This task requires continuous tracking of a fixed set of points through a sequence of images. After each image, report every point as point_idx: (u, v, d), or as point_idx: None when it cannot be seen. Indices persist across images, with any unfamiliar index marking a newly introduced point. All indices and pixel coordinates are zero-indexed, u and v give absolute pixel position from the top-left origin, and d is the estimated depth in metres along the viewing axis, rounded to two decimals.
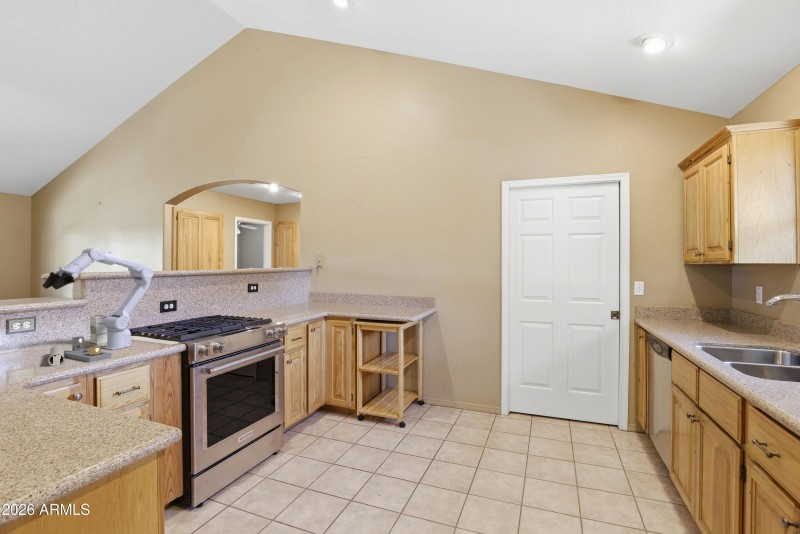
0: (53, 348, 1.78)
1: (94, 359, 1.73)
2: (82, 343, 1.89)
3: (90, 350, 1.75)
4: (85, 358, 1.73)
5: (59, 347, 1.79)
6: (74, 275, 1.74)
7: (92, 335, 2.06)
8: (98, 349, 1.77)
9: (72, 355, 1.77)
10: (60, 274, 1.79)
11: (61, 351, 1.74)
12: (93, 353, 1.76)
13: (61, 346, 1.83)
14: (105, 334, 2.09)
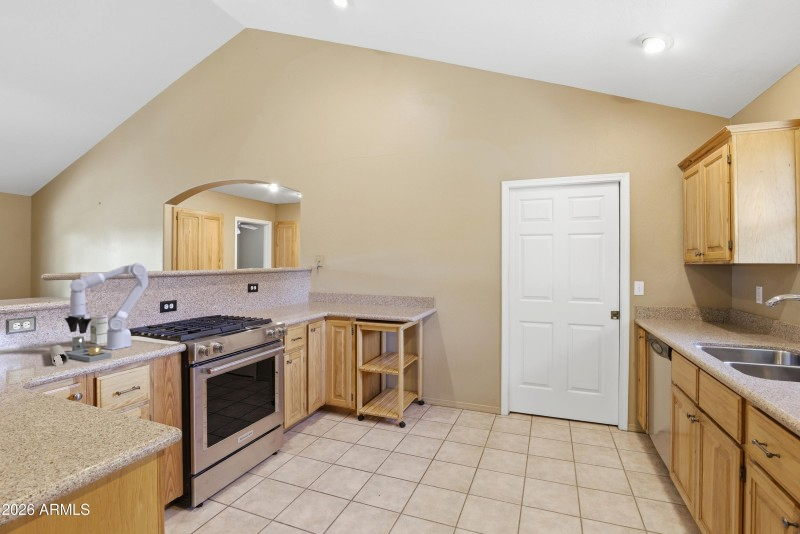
0: (53, 348, 1.78)
1: (94, 359, 1.73)
2: (82, 343, 1.89)
3: (90, 350, 1.75)
4: (85, 358, 1.73)
5: (59, 347, 1.79)
6: (86, 317, 1.86)
7: (92, 335, 2.06)
8: (98, 349, 1.77)
9: (72, 355, 1.77)
10: (73, 315, 1.90)
11: (63, 351, 1.74)
12: (93, 353, 1.76)
13: (60, 346, 1.82)
14: (105, 334, 2.09)
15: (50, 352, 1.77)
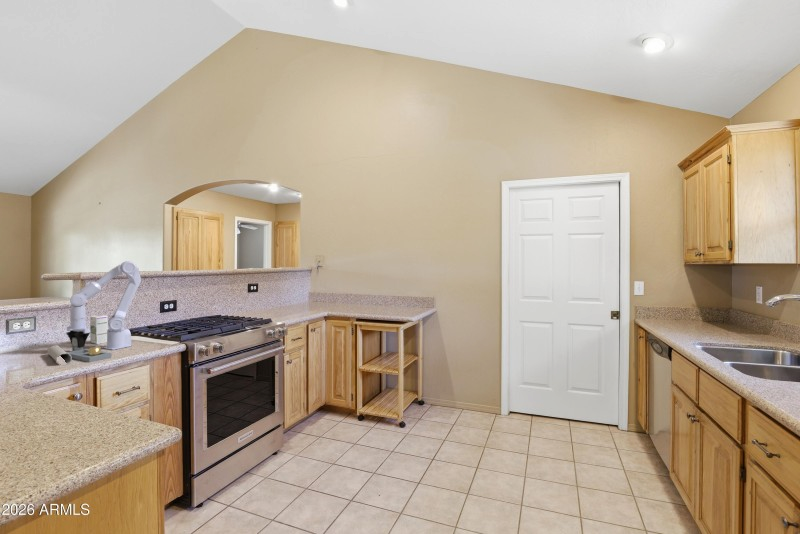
0: (52, 348, 1.78)
1: (94, 359, 1.73)
2: None
3: (90, 350, 1.75)
4: (85, 358, 1.73)
5: (59, 347, 1.79)
6: (86, 331, 1.86)
7: (92, 335, 2.06)
8: (98, 349, 1.77)
9: (72, 355, 1.77)
10: None
11: (64, 351, 1.75)
12: (93, 353, 1.76)
13: None
14: (105, 334, 2.09)
15: (50, 352, 1.77)
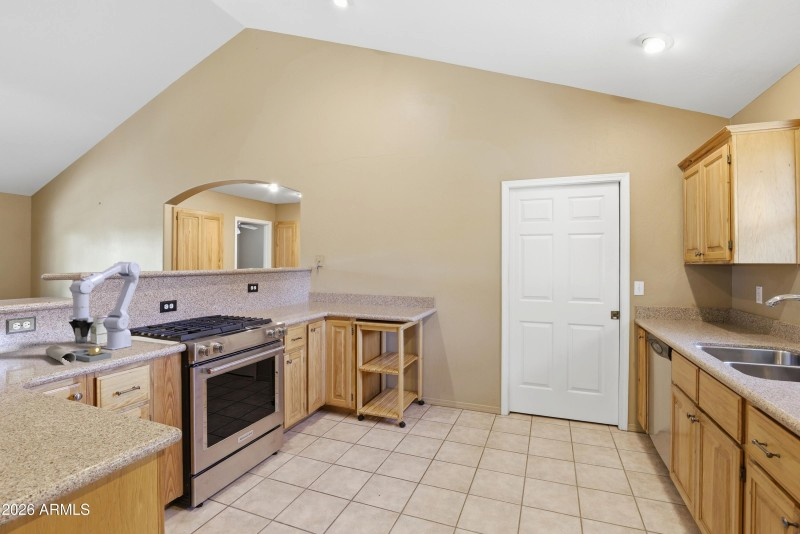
0: (52, 348, 1.78)
1: (94, 359, 1.73)
2: None
3: (90, 350, 1.75)
4: (85, 358, 1.73)
5: (58, 347, 1.79)
6: (90, 320, 1.78)
7: (92, 335, 2.06)
8: (98, 349, 1.77)
9: None
10: (76, 318, 1.82)
11: None
12: (93, 353, 1.76)
13: (57, 346, 1.82)
14: (105, 334, 2.09)
15: (49, 352, 1.77)
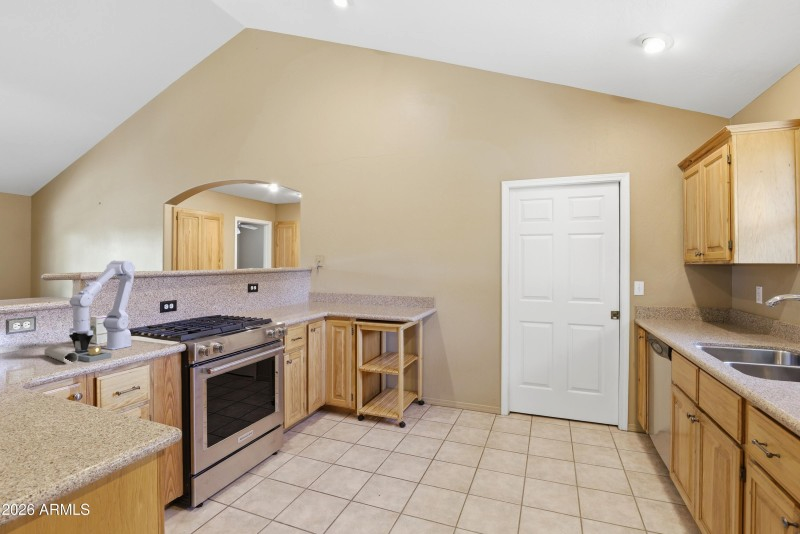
0: (51, 348, 1.78)
1: (94, 359, 1.73)
2: None
3: (90, 350, 1.75)
4: (85, 358, 1.73)
5: (58, 347, 1.79)
6: (90, 333, 1.78)
7: None
8: (98, 349, 1.77)
9: None
10: None
11: None
12: (93, 353, 1.76)
13: (56, 347, 1.82)
14: (105, 334, 2.09)
15: (49, 352, 1.76)
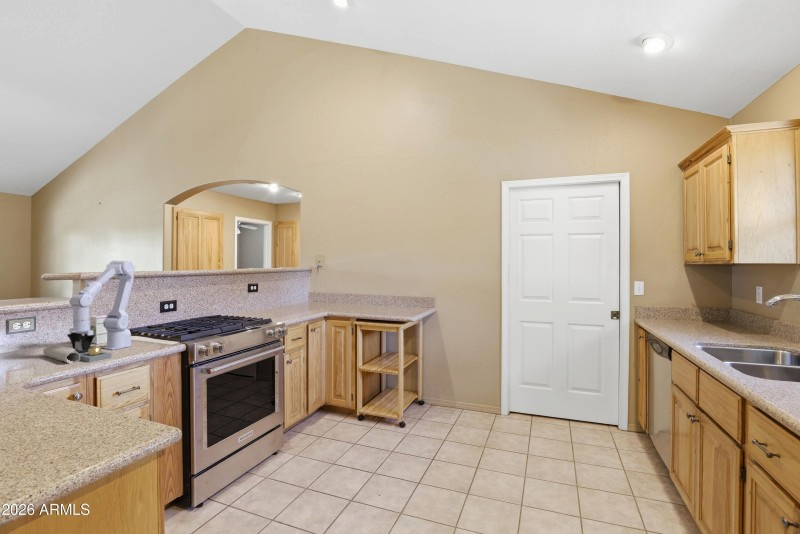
0: (51, 349, 1.77)
1: (94, 359, 1.73)
2: None
3: (90, 350, 1.75)
4: (85, 358, 1.73)
5: (58, 347, 1.79)
6: (90, 333, 1.78)
7: None
8: (98, 349, 1.77)
9: None
10: (76, 331, 1.82)
11: None
12: (93, 353, 1.76)
13: (55, 347, 1.81)
14: (105, 334, 2.09)
15: (49, 353, 1.76)
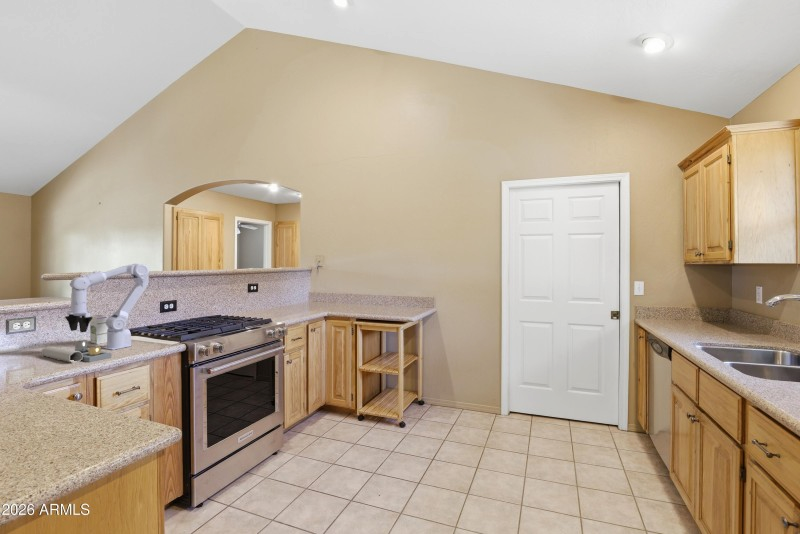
0: (50, 349, 1.77)
1: (94, 359, 1.73)
2: (86, 347, 1.81)
3: (90, 350, 1.75)
4: (85, 358, 1.73)
5: (57, 347, 1.79)
6: (87, 315, 1.83)
7: (92, 335, 2.06)
8: (98, 349, 1.77)
9: None
10: (73, 313, 1.87)
11: (68, 350, 1.76)
12: (93, 353, 1.76)
13: (54, 347, 1.81)
14: (105, 334, 2.09)
15: (48, 353, 1.76)
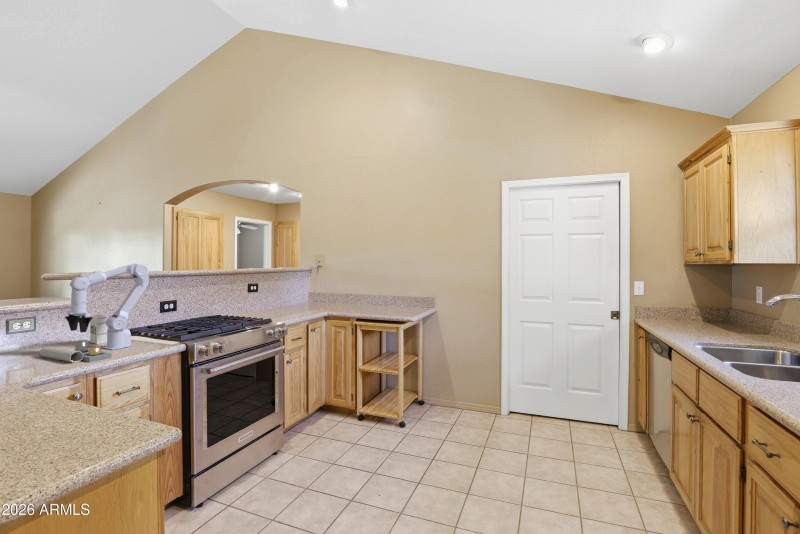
0: (49, 349, 1.77)
1: (94, 359, 1.73)
2: (86, 347, 1.81)
3: (90, 350, 1.75)
4: (85, 358, 1.73)
5: None
6: (87, 315, 1.83)
7: (92, 335, 2.06)
8: (98, 349, 1.77)
9: None
10: (73, 313, 1.87)
11: (68, 350, 1.76)
12: (93, 353, 1.76)
13: None
14: (105, 334, 2.09)
15: (47, 353, 1.75)
